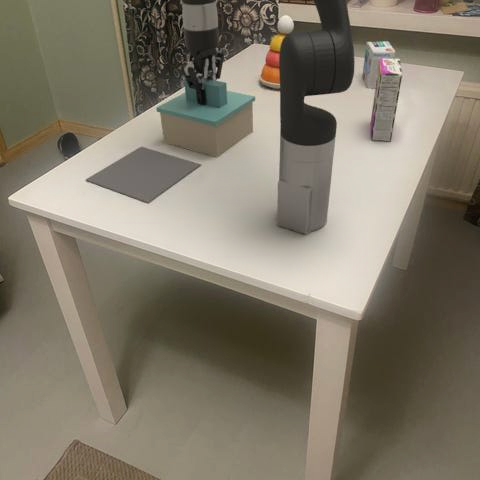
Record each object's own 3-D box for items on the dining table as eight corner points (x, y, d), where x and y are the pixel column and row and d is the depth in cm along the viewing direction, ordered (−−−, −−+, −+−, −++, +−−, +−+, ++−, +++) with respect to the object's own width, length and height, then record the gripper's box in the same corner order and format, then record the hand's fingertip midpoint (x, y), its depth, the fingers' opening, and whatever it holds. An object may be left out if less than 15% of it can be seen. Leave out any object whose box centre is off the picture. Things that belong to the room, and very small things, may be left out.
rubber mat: (148, 203, 95) (148, 202, 94) (85, 180, 103) (85, 179, 102) (201, 165, 106) (200, 164, 106) (141, 147, 114) (141, 146, 114)
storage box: (217, 157, 109) (215, 125, 104) (164, 142, 116) (159, 111, 111) (252, 131, 120) (252, 100, 115) (202, 118, 127) (199, 89, 122)
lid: (215, 130, 104) (213, 99, 100) (157, 115, 112) (153, 86, 108) (255, 104, 116) (255, 75, 111) (199, 92, 123) (197, 65, 119)
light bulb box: (361, 76, 149) (366, 41, 142) (382, 76, 149) (388, 40, 142) (367, 89, 141) (372, 51, 134) (390, 88, 140) (396, 51, 134)
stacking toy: (270, 94, 139) (271, 24, 127) (252, 79, 150) (251, 13, 138) (313, 87, 143) (317, 18, 131) (292, 73, 154) (294, 8, 142)
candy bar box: (369, 122, 122) (378, 57, 112) (389, 123, 121) (400, 58, 111) (369, 141, 113) (380, 72, 103) (391, 142, 113) (403, 73, 102)
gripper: (195, 34, 96) (201, 115, 106) (232, 19, 105) (235, 94, 115) (166, 30, 99) (176, 108, 109) (205, 15, 108) (210, 89, 119)
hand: (206, 101), depth 112 cm, fingers closed on lid, 3 cm apart
